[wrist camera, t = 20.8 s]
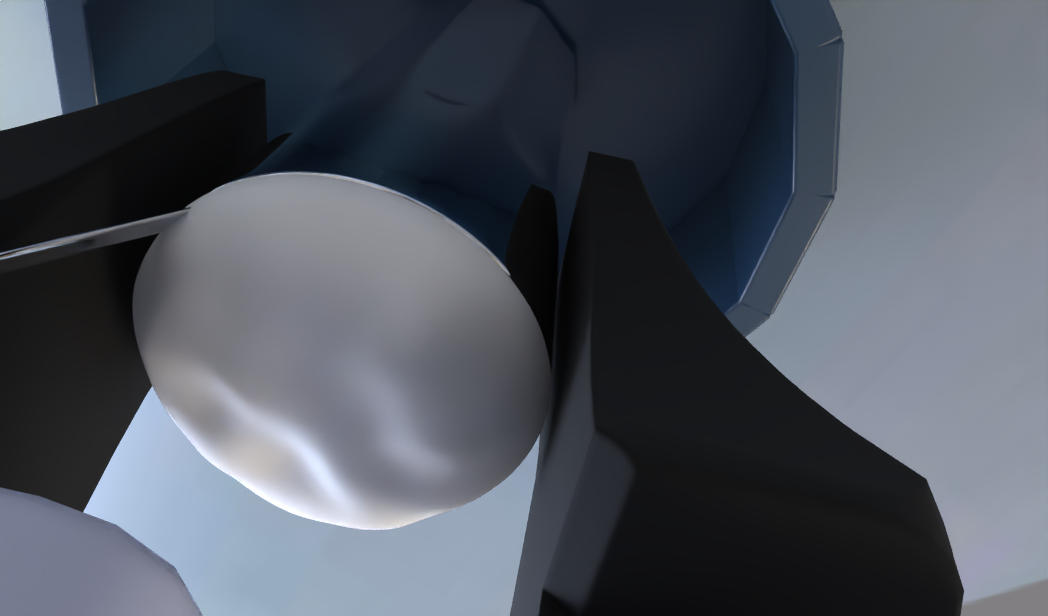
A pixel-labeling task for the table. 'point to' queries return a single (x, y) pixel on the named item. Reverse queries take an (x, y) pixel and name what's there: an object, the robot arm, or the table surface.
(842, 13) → the table surface
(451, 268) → the milkshake
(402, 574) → the table surface
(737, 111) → the tin
